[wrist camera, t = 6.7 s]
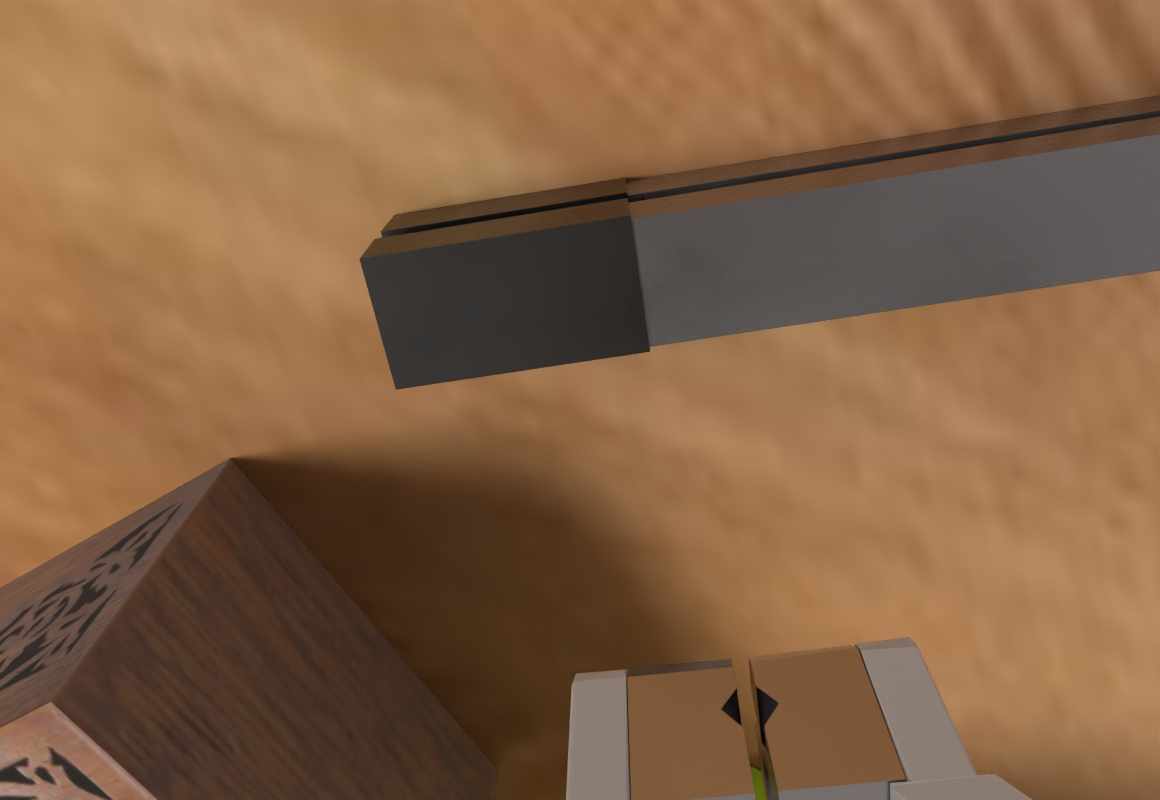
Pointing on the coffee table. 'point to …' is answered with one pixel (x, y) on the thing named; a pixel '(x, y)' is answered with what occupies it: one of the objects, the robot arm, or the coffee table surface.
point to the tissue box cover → (212, 670)
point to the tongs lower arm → (773, 167)
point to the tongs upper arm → (766, 254)
